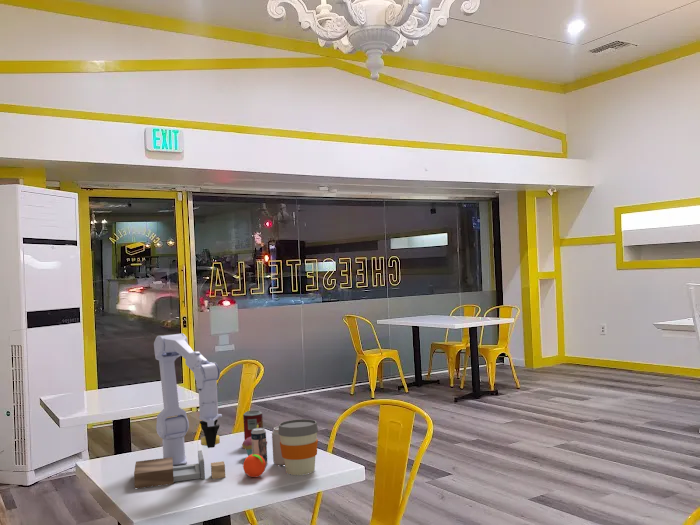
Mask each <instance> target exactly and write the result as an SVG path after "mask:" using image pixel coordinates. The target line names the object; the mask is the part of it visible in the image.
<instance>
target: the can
mask: <svg viewBox="0 0 700 525" xmlns="http://www.w3.org/2000/svg"><path fill="white" fill-rule="evenodd" d="M278 432H279V425H278V426H275V427H273V431H272V432H271V442H272V460H273V463H274V464H275V466H278V465H280V466H279V467H284V466H283V465H285V462H284V458H283V457H282V453H281V447H280V442H281V440H280V435H279V434H278ZM281 465H282V466H281Z"/></svg>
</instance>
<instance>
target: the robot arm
mask: <svg viewBox="0 0 700 525" xmlns="http://www.w3.org/2000/svg"><path fill="white" fill-rule="evenodd" d="M153 348H154V349H153V350H154V356H155V360H157V361H158V362H159V372H160V383H161V392H162V404H163V409H162V410H161V411H160V412H159V413H158V414H157V415H156V426H155V428H156V430H155V431H156V433H157V435H158V436H159V438H160V439H162V458H170V457H172V459H173V466H180V465H187V456H186V450H185V436H186V435H187V433H188V431H189V429H190V422H189V418H188V415H187V412H186V410H185V409H183V408H182V407H180V405H179V404H180V403H179V394H178V386H177V384H178V383H177V376H176V367H175V361H176V360H177V359H178V358H179V357H182V359H183V358H184V359H185V365H186V366H187V367H188V368H189V369H190V371H192V373H193V376H194V380H195V382H196V383H195V384H196V388H197V389H198V404H199V406H198V407H199V408H198V409H199V417H198V419H199V424H200V428H201V430H202V431H203V436H205V438H206V443H207V446H206V447H207V449H210V448H211V449H212V448H215V447H216V445H215V442H216V435H218V431H219V428H220V424H217V423H218V419H219V418H223V414H222V413H219V404H218V382H217V381H218V380H219V379H220V377H221V376H220V375H221V371H220V367H219V365H218V364H217V362H215V361H211V362H210V361H209V360H208V359H207V358H206V357H205V356H204V355H203V354H202V353H201V352H200V351H194V350H193V348H192V347H191V346H190V345H189V341H188V337H187V335H186V334H184V333H183V332H182V333H176V334H175V333H174V334H166V335H164V334H163V335H157V336H156V337H155V340H154V342H153Z"/></svg>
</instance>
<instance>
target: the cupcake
mask: <svg viewBox="0 0 700 525" xmlns="http://www.w3.org/2000/svg"><path fill="white" fill-rule="evenodd" d="M258 427H259V425H257V428H258ZM266 444H267V445H268V441H267V440H266ZM241 445H242V449H245V451H246V454H247V457H248V456H249V455H251V454H252V439H251V437H249V438H247V439H246V440H245V439H244V440H243V441H242V444H241Z"/></svg>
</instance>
